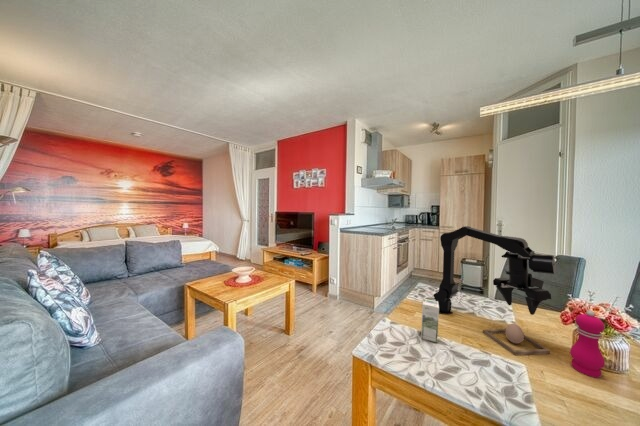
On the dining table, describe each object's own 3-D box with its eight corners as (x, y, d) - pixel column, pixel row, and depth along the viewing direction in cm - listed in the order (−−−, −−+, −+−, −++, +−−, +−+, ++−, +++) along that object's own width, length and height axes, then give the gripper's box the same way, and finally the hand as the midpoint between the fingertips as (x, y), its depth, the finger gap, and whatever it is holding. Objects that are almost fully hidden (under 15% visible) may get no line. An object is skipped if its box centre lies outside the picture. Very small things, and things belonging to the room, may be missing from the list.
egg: (504, 342, 87) (505, 324, 86) (505, 336, 90) (506, 319, 90) (523, 348, 83) (524, 329, 83) (523, 342, 87) (524, 324, 86)
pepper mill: (591, 365, 75) (596, 307, 74) (610, 381, 68) (616, 318, 67) (563, 360, 77) (567, 304, 76) (579, 375, 70) (584, 314, 69)
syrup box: (436, 335, 90) (438, 300, 90) (437, 343, 85) (439, 306, 84) (421, 331, 93) (422, 297, 92) (421, 339, 87) (422, 303, 87)
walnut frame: (514, 355, 79) (515, 352, 79) (482, 332, 93) (482, 329, 93) (550, 353, 80) (550, 350, 80) (513, 331, 94) (513, 328, 94)
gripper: (564, 274, 79) (567, 319, 78) (515, 264, 97) (517, 299, 97) (534, 276, 78) (537, 320, 78) (491, 265, 97) (493, 301, 96)
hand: (520, 309), depth 87 cm, fingers open, 9 cm apart
